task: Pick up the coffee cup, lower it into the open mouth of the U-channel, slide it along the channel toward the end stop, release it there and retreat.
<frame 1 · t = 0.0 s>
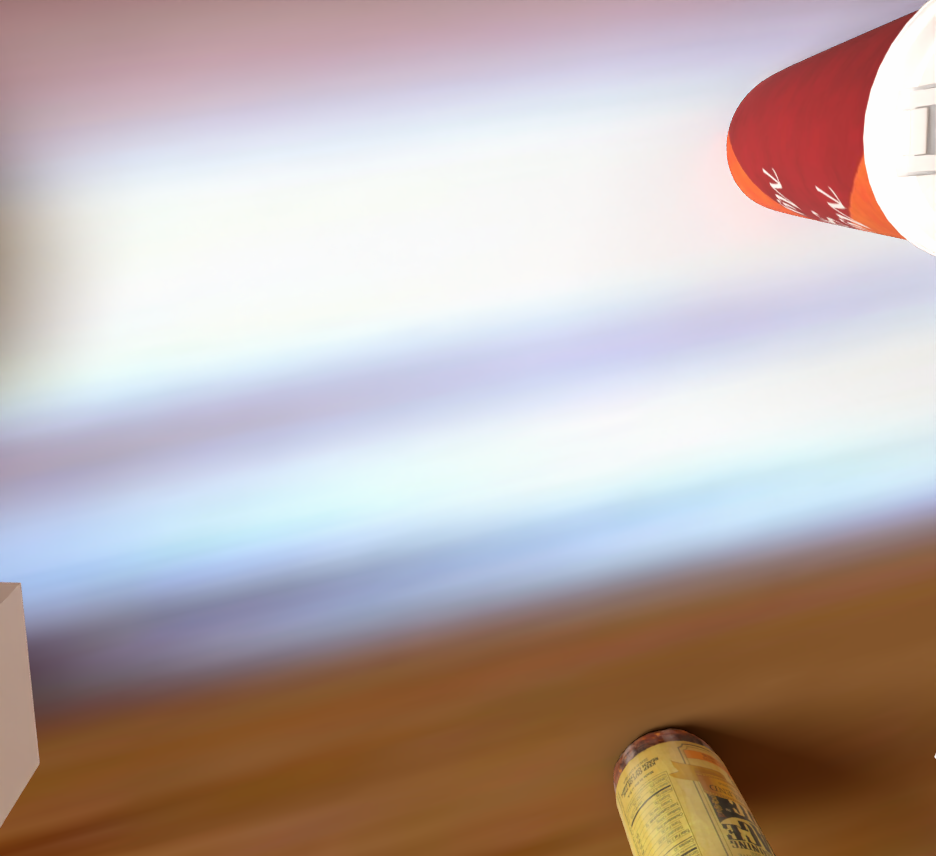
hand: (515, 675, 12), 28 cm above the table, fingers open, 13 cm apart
coffee cup: (790, 141, 37), on the table
sauce bottle: (660, 764, 46), on the table
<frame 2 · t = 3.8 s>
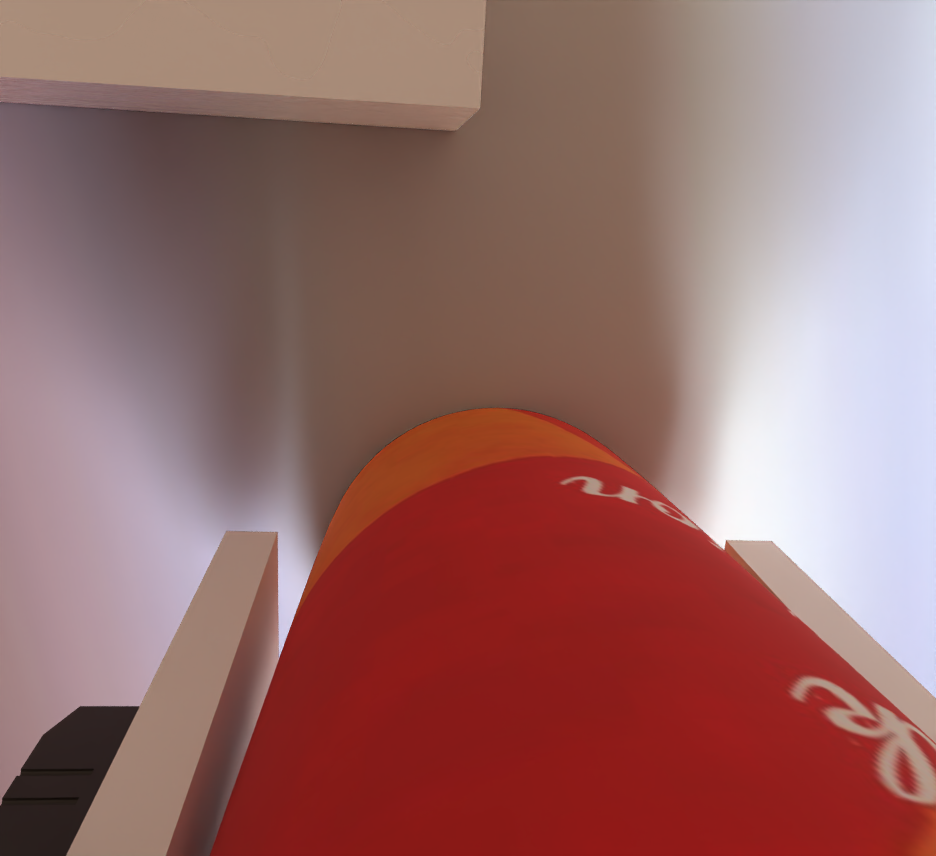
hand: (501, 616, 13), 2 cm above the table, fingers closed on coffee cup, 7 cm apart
coffee cup: (488, 554, 15), on the table, touching gripper
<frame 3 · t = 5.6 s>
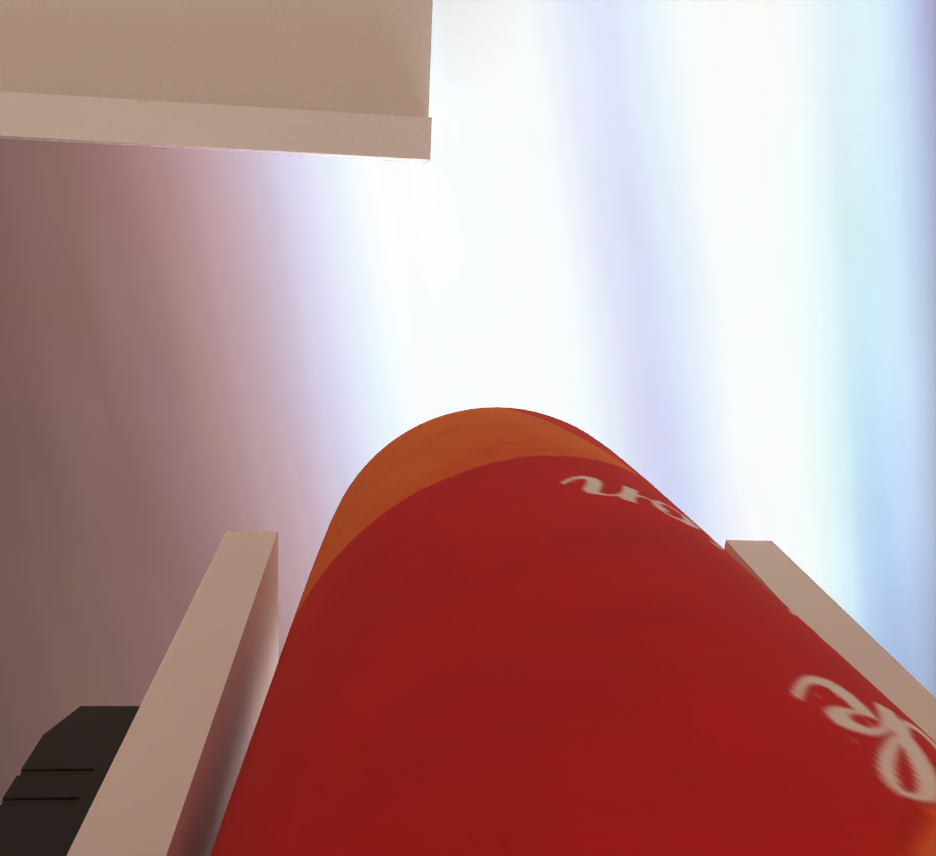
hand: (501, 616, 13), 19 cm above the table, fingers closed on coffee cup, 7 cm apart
coffee cup: (489, 554, 15), point 17 cm above the table, touching gripper
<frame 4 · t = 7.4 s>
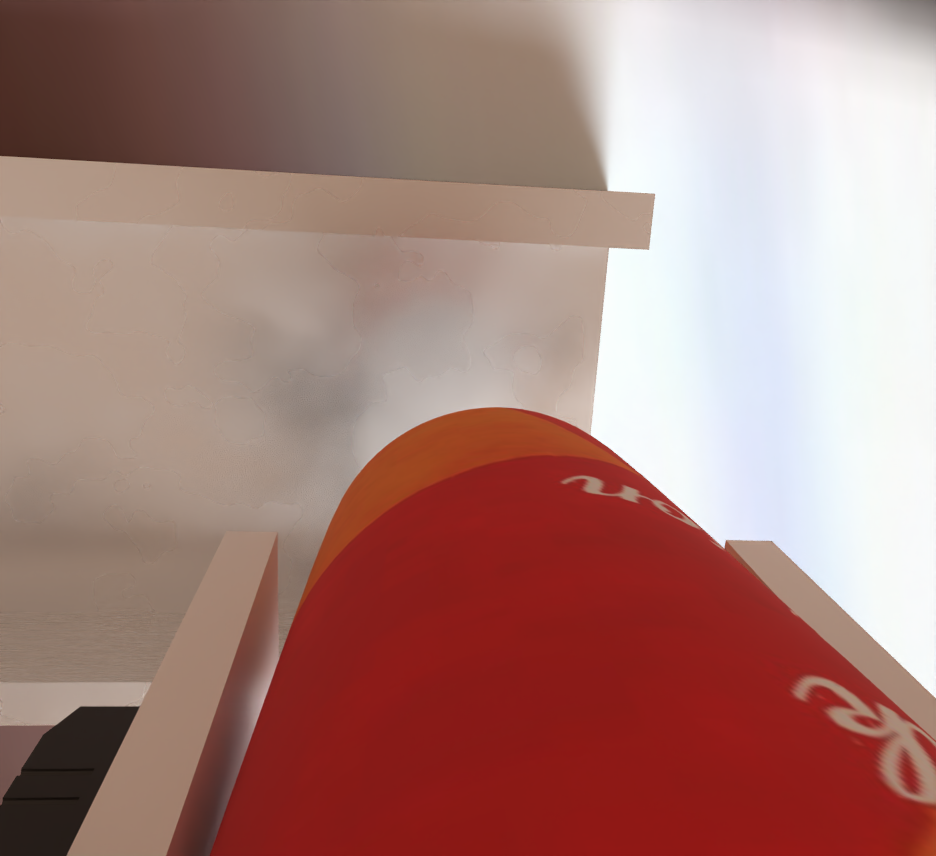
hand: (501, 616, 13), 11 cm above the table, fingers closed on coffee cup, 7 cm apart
coffee cup: (489, 554, 15), point 9 cm above the table, touching gripper
channel: (156, 421, 23), on the table
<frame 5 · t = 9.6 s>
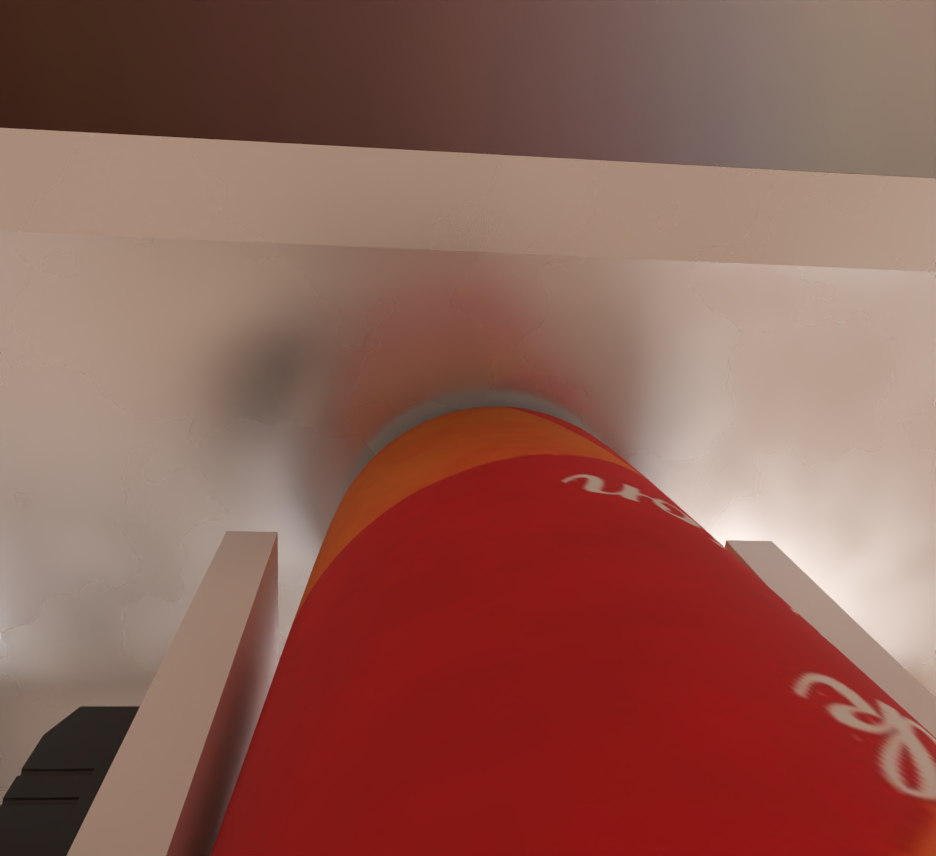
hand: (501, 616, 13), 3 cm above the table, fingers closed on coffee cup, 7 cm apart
coffee cup: (489, 553, 15), point 1 cm above the table, touching gripper
channel: (427, 522, 16), on the table
when the fingers open (3 cm above the table, at t = 11.3 s): coffee cup stays where it is, resting on channel.
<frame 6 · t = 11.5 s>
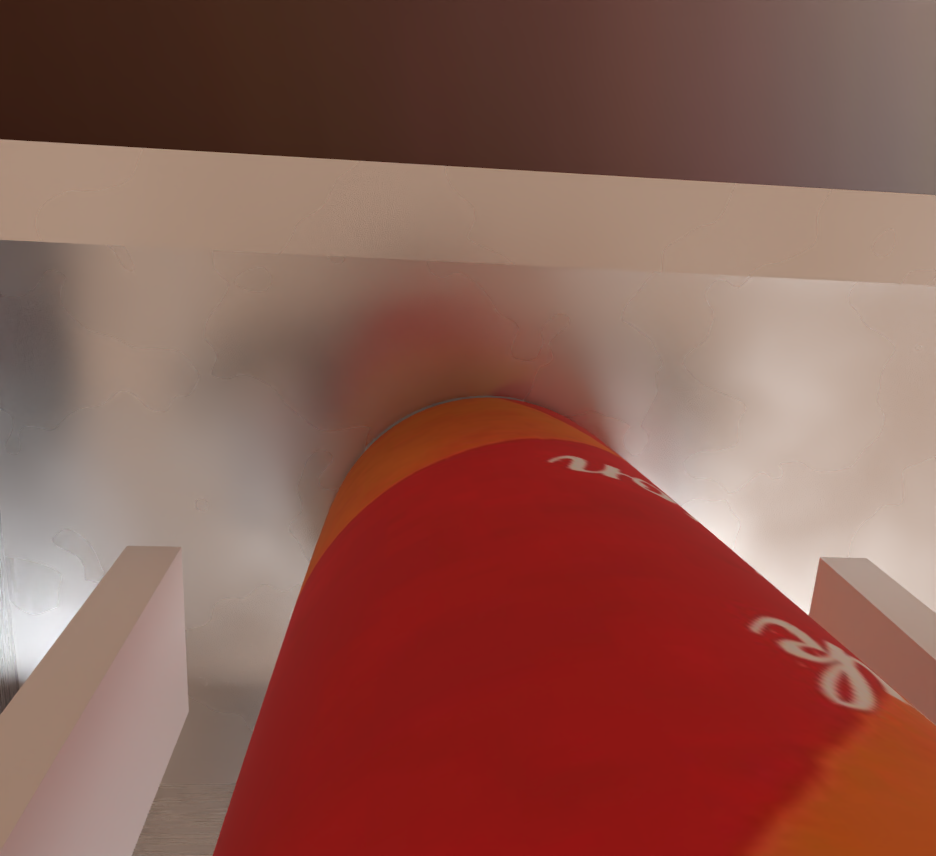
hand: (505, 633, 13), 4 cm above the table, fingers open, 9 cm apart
coffee cup: (480, 538, 16), resting on channel
channel: (579, 529, 17), on the table
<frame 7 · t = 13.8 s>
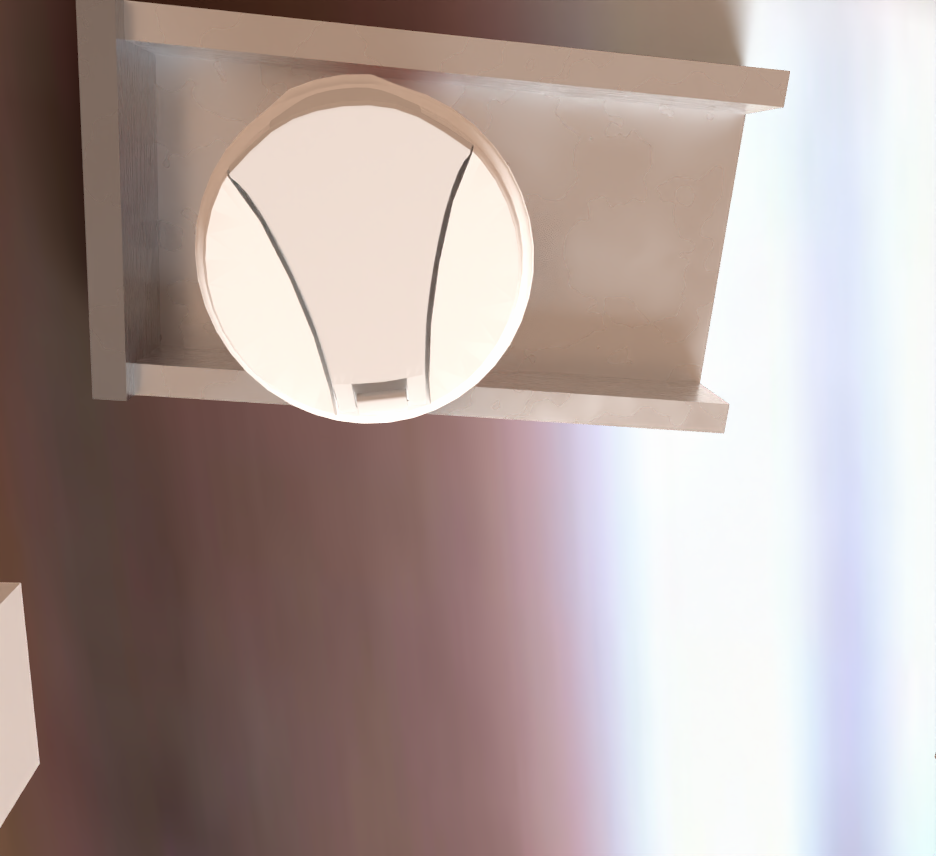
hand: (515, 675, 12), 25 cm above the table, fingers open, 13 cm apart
coffee cup: (383, 226, 34), resting on channel
channel: (433, 229, 34), on the table
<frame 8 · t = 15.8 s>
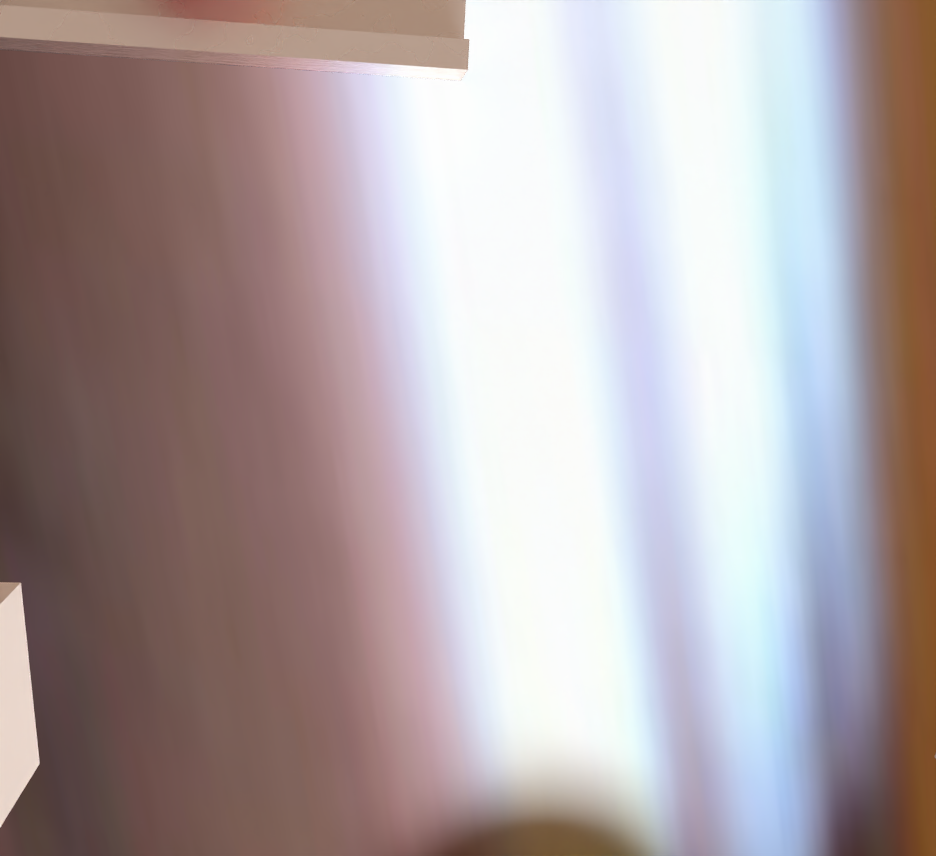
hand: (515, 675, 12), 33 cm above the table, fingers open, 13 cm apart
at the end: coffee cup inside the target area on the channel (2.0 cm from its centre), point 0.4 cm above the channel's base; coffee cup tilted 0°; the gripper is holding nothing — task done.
